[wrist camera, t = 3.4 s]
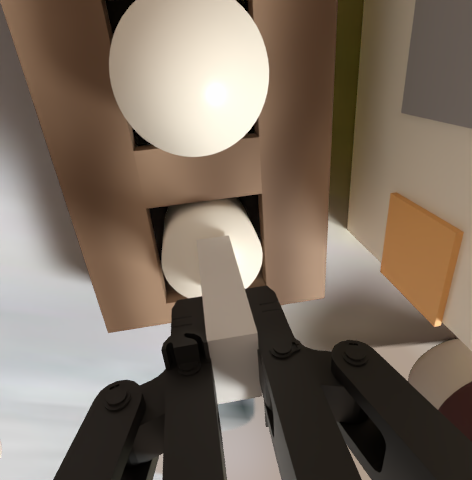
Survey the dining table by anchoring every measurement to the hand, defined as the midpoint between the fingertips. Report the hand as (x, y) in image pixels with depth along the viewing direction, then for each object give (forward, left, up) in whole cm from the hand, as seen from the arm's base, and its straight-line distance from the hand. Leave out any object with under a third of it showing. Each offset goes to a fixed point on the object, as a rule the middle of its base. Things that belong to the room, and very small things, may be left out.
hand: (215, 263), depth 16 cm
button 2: (0, +8, -2) cm, 8 cm away
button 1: (0, 0, -5) cm, 5 cm away
